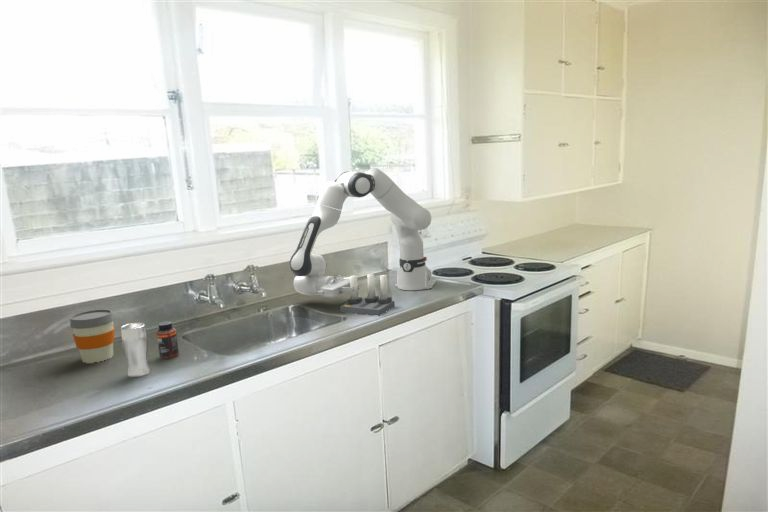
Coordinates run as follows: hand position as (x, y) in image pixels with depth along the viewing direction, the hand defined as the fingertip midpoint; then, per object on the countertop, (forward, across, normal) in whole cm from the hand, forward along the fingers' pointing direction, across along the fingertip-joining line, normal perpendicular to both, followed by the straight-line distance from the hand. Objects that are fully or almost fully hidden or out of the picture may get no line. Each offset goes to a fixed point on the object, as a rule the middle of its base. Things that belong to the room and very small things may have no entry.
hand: (356, 288), depth 216 cm
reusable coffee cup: (-54, -79, +8) cm, 96 cm away
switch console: (+5, 0, +8) cm, 10 cm away
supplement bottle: (-32, -69, +9) cm, 76 cm away
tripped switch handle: (-1, 0, +6) cm, 6 cm away
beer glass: (-29, -83, +9) cm, 88 cm away
